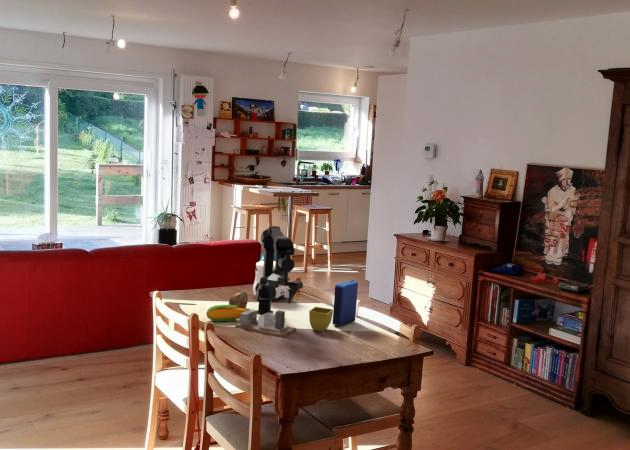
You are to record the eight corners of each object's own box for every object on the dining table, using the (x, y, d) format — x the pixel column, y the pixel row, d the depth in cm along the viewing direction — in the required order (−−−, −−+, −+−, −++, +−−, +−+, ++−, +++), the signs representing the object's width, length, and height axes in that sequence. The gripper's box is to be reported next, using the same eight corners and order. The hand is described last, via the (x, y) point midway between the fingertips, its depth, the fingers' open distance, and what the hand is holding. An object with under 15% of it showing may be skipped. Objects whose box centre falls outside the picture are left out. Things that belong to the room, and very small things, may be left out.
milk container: (252, 293, 365) (254, 259, 363) (285, 294, 367) (286, 261, 365) (252, 301, 348) (254, 266, 346) (286, 302, 350) (288, 268, 347)
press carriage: (267, 323, 307) (268, 306, 306) (288, 327, 302) (289, 310, 301) (257, 327, 300) (258, 310, 299) (279, 332, 295) (280, 314, 294)
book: (347, 319, 325) (350, 278, 322) (357, 322, 322) (360, 280, 319) (330, 325, 313) (333, 283, 311) (340, 328, 310) (343, 285, 308)
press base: (249, 320, 314) (250, 307, 313) (295, 330, 303) (296, 317, 302) (235, 326, 303) (235, 313, 303) (282, 337, 293) (282, 323, 292)
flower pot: (332, 328, 310) (333, 309, 308) (326, 333, 301) (327, 313, 300) (314, 325, 312) (315, 306, 311) (307, 330, 304) (308, 310, 303)
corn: (205, 302, 312) (248, 301, 319) (204, 318, 313) (247, 316, 320) (208, 308, 305) (252, 306, 312) (207, 324, 306) (251, 322, 313)
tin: (233, 314, 323) (233, 297, 321) (227, 313, 324) (227, 296, 322) (247, 307, 336) (248, 290, 335) (242, 306, 338) (242, 289, 336)
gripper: (253, 266, 293) (252, 302, 295) (291, 272, 285) (289, 309, 287) (267, 262, 303) (265, 297, 305) (304, 268, 295) (302, 304, 297)
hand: (280, 302), depth 298 cm, fingers open, 9 cm apart
